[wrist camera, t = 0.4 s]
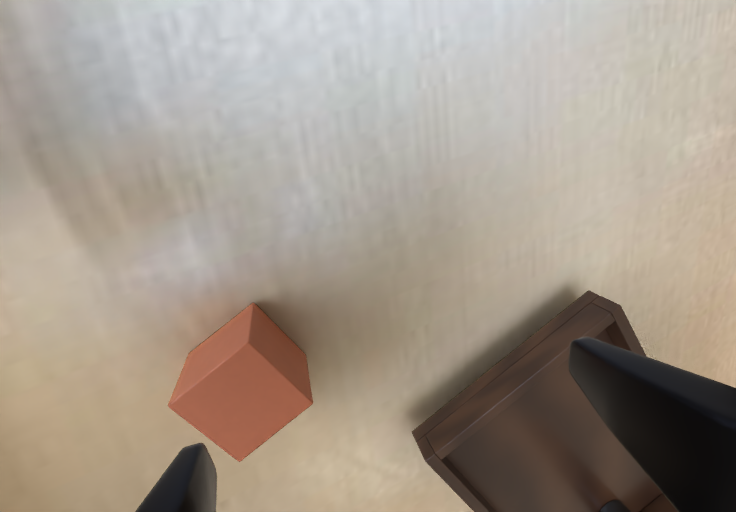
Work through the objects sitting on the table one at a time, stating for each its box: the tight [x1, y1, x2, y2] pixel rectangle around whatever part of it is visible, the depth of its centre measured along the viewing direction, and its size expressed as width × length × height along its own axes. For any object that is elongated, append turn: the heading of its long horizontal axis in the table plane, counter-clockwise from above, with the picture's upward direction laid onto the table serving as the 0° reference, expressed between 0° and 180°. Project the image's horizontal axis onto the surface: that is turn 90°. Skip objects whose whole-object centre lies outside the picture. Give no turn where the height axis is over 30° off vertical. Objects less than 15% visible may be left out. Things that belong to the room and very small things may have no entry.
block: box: [168, 303, 313, 462], centre depth 20 cm, size 4×4×4 cm
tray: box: [412, 291, 678, 512], centre depth 24 cm, size 14×20×11 cm
